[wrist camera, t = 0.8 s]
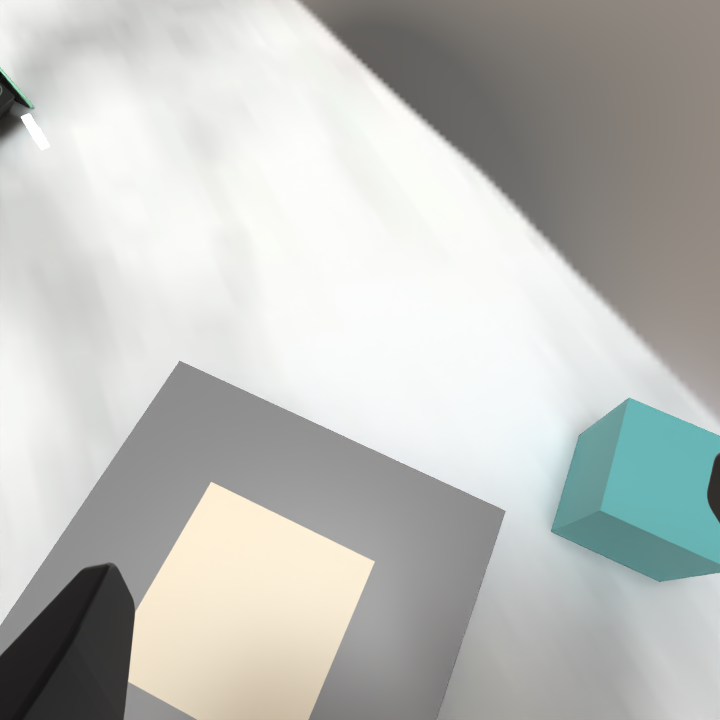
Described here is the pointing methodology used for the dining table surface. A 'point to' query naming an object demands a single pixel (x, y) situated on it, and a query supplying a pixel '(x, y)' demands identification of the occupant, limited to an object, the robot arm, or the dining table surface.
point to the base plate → (273, 565)
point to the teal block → (643, 493)
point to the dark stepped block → (5, 91)
